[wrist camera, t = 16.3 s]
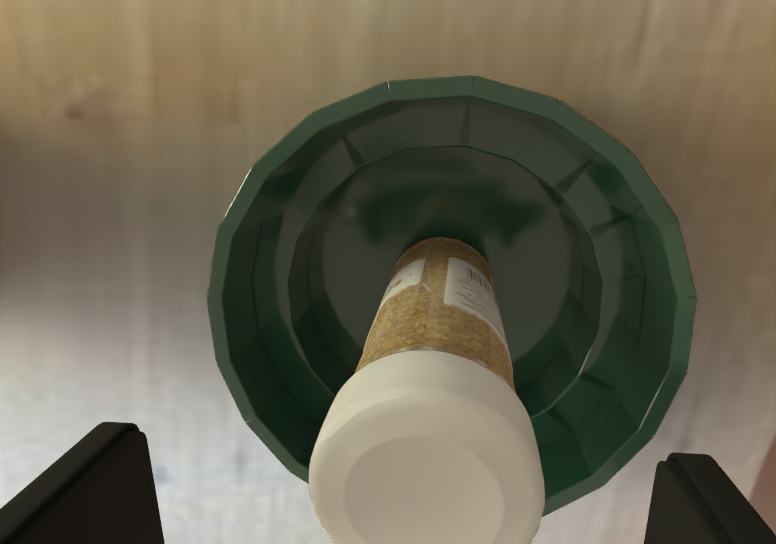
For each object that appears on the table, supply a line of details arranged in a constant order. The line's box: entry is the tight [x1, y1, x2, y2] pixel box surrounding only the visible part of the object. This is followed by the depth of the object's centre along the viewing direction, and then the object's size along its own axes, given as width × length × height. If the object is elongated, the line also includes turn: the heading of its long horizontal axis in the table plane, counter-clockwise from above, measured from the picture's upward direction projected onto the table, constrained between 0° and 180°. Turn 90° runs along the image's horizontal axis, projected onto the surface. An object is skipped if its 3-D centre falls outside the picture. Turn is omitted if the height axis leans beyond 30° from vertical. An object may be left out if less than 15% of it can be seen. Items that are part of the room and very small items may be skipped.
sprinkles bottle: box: [309, 236, 545, 544], centre depth 16 cm, size 5×5×13 cm
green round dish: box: [206, 76, 697, 517], centre depth 20 cm, size 16×16×6 cm
